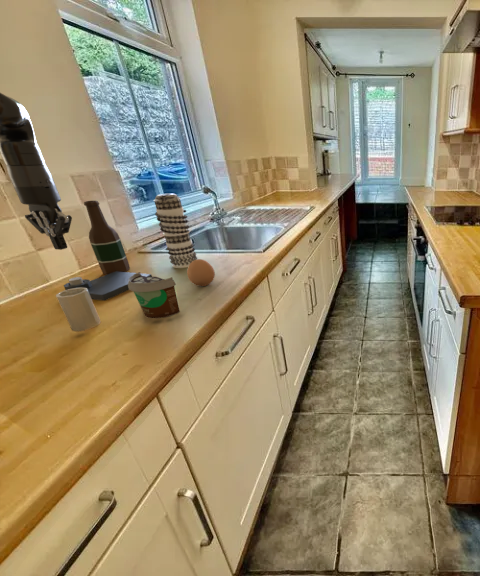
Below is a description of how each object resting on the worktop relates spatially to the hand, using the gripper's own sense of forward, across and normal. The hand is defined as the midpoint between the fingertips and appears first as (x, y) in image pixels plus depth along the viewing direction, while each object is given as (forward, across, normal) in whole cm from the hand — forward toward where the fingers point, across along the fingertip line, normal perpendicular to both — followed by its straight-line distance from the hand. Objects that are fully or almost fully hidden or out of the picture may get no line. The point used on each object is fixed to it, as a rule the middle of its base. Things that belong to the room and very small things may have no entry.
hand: (61, 248), depth 88 cm
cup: (+14, +21, -14) cm, 29 cm away
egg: (+14, +32, +12) cm, 37 cm away
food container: (+14, +33, -7) cm, 36 cm away
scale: (+14, +5, +6) cm, 16 cm away
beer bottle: (+14, -7, +18) cm, 24 cm away
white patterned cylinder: (+14, +11, +28) cm, 33 cm away
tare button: (+11, 0, 0) cm, 11 cm away
